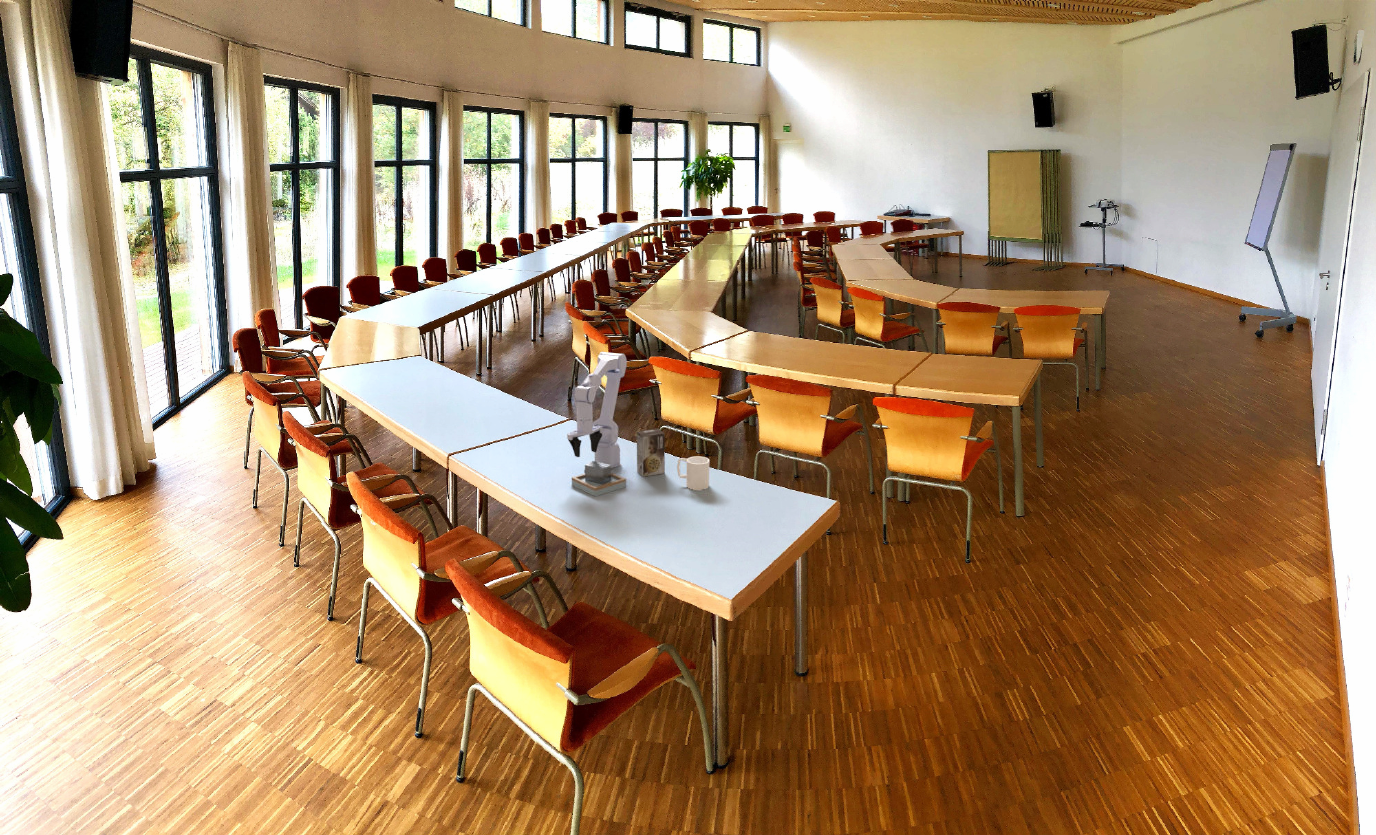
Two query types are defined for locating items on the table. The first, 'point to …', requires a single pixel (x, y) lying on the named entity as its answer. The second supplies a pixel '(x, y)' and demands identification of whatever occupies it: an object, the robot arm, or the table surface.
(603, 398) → the robot arm
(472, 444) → the table surface
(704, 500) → the table surface
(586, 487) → the square tray
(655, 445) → the coffee box
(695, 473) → the cup
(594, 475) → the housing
